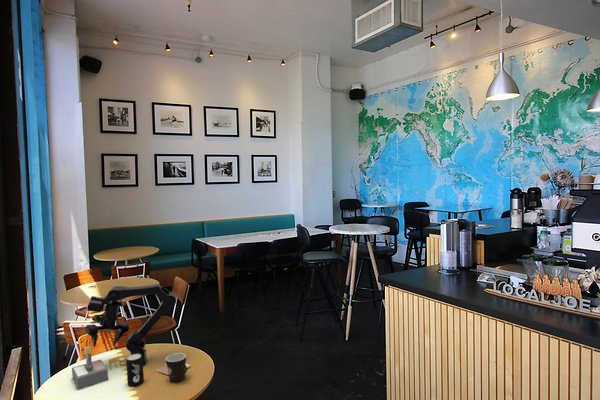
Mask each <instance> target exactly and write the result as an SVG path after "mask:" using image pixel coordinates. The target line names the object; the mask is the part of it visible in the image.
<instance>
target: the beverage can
mask: <svg viewBox="0 0 600 400" xmlns="http://www.w3.org/2000/svg"><path fill="white" fill-rule="evenodd" d="M125 363H126V366H125V367H126V377H127V385H128V386H130V387H138V386H141V385H142V384H143V383H144V381H145V376H144V375H145V374H144V366H143V359H142V357H141V354H133V355H131V354H130V355H128V356H127V357H126V361H125Z"/></svg>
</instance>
